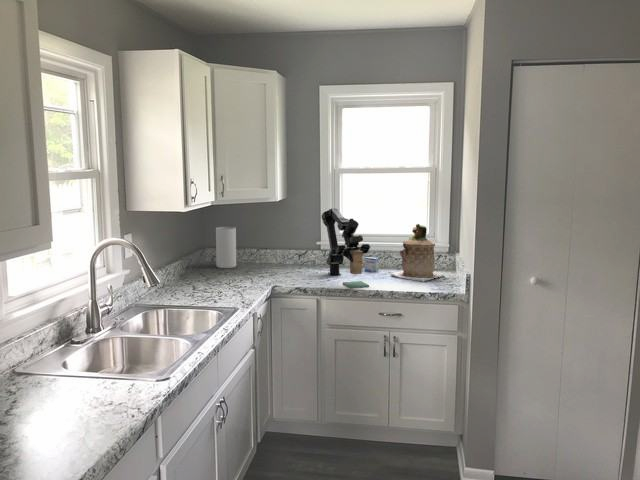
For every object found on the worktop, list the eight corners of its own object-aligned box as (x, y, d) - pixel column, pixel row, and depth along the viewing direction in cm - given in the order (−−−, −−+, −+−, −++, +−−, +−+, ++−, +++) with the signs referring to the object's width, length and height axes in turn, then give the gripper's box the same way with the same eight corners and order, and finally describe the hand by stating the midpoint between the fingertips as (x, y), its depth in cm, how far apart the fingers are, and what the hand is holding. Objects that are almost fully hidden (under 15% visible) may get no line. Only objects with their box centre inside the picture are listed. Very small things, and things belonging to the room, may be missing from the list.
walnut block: (349, 272, 301) (350, 250, 299) (358, 272, 303) (358, 249, 301) (353, 274, 297) (353, 251, 295) (361, 273, 298) (362, 251, 297)
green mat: (342, 283, 304) (342, 282, 304) (360, 282, 308) (360, 280, 308) (350, 288, 294) (350, 286, 294) (369, 286, 298) (369, 285, 297)
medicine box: (364, 271, 340) (364, 257, 339) (366, 270, 344) (367, 256, 343) (376, 272, 336) (376, 258, 335) (378, 271, 340) (379, 257, 339)
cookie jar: (446, 276, 326) (448, 223, 322) (423, 283, 309) (425, 226, 304) (411, 270, 343) (413, 220, 339) (388, 276, 325) (389, 223, 321)
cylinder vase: (213, 268, 346) (212, 228, 343) (220, 264, 359) (219, 226, 355) (232, 268, 344) (232, 229, 341) (238, 265, 357) (238, 227, 353)
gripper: (337, 230, 297) (345, 254, 288) (369, 229, 303) (377, 252, 295) (332, 242, 305) (339, 266, 297) (363, 241, 312) (370, 264, 303)
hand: (357, 261), depth 298 cm, fingers closed on walnut block, 5 cm apart
